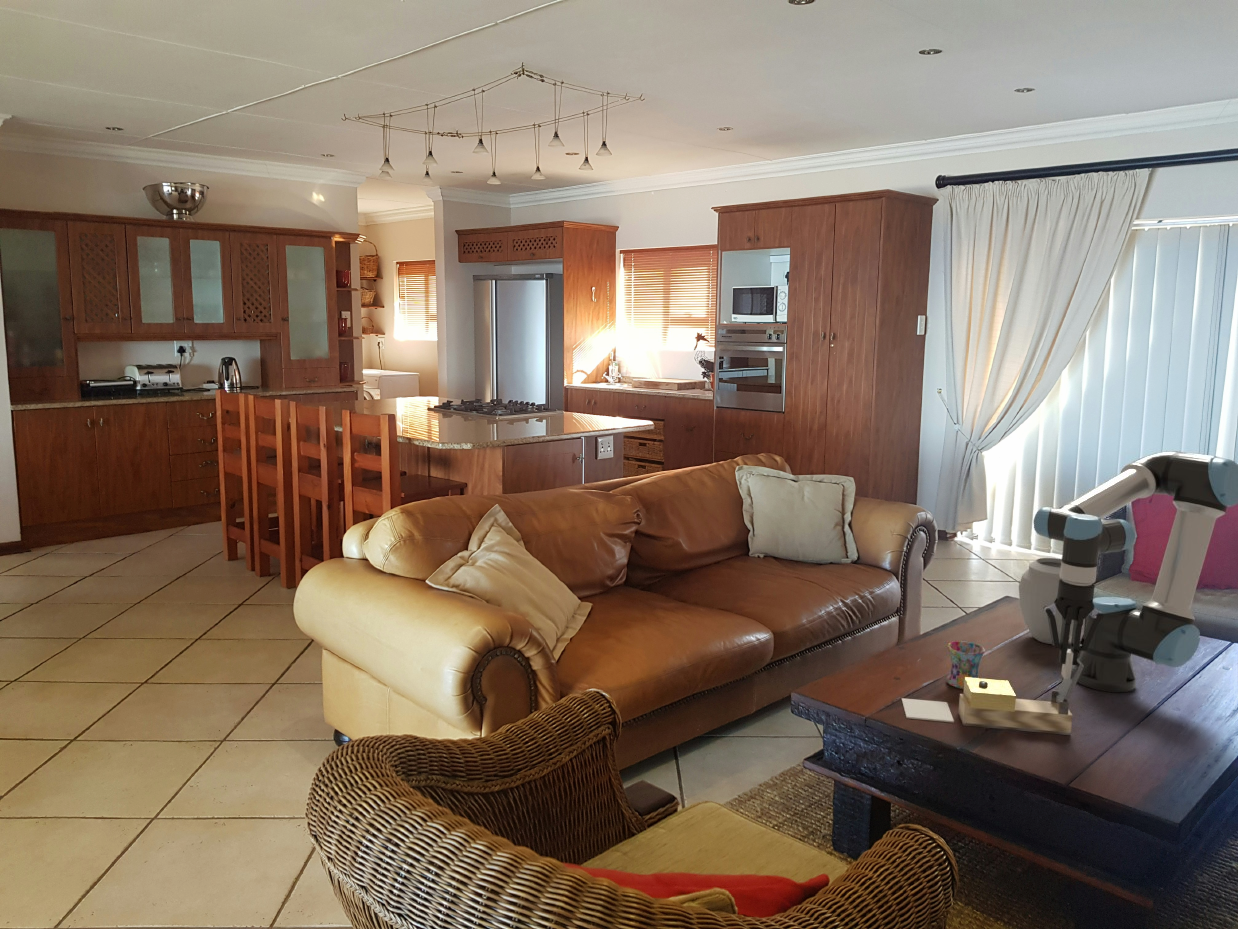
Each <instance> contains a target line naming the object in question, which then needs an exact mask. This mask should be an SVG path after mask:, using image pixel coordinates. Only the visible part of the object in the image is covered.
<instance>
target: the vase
mask: <svg viewBox="0 0 1238 929" xmlns="http://www.w3.org/2000/svg"><path fill="white" fill-rule="evenodd" d="M1061 561H1062V558H1054V557H1053V558H1052V557H1042V558H1041V557H1040V558H1038V559H1036V560H1034V561H1032V562H1030V563H1029V564H1028V569H1027V570H1025V572H1023V573H1022V574H1021V578H1020V580H1019V584H1018V596H1019V597H1018V598H1019V607H1020V610H1021V614H1022V617H1023V621H1024V623H1025V625H1026V628H1027V629H1028V631H1029V633H1030V634H1031V636H1032V637H1033V638H1034V639H1035V640H1037V641H1038V642H1041V643H1043V644H1047V645H1048V644H1049V645H1053V644H1052V641H1051V635H1050V629H1049V623H1048V617H1047V614H1046V612H1045V611H1044V609H1043V608H1044V606H1050V605H1052V604H1054V601H1055V600H1056V598H1057V594H1058V585H1059V580H1060V579H1061V578H1060V569H1061ZM1054 616H1055V619H1056V625H1057V631H1058V637H1059V642H1060V637H1061V628H1062V616H1061V614H1060V613H1059V611H1058V609H1056V614H1055V615H1054ZM1073 623H1074V621H1073V620H1072V622H1071V625H1070V634H1069V639H1070V638H1072V631H1073Z"/></svg>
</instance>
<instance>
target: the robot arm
mask: <svg viewBox="0 0 1238 929" xmlns="http://www.w3.org/2000/svg"><path fill="white" fill-rule="evenodd" d="M1153 495H1167V496H1171V497H1173V498H1172V499H1173V500H1172V504H1173V505H1174V507H1175V508H1176V513H1175V516H1174V521H1173V524H1172V526H1171V530H1170V534H1169V537H1168V542H1167V545H1166V548H1165V551H1164V556H1163V558H1162V561H1161V566H1160V569H1159V573H1158V576H1157V578H1156V579H1157V580H1156V583H1155V587H1154V590H1153V593H1152V597H1151V599H1149V600H1148V601H1146V602H1144V603H1143V604H1142V607H1141V609H1138V605H1137V602H1136V601H1135V600H1134V599H1131V598H1125V597H1118V596H1117V597H1116V596H1101V597H1098V596H1097V597H1094V595H1095V588H1096V586H1095V584H1094V583H1096V581H1097V580H1096V579H1097V570H1098V561H1099V555H1103V554H1110V553H1119V552H1122V551H1124V550H1128V549H1129V548H1131V547H1132V545H1133V544H1134V542H1135V540H1136V539H1135V538H1136V533H1135V530H1134V528H1133V526H1132V524H1130V523H1129V521H1128V520H1127V521H1126V520H1125V519H1119V518H1117V519H1116V518H1112V519H1105V518H1106V517H1109V516H1110V515H1112V514H1113V513H1115V512H1117V511H1119V510H1120V509H1122V508H1124V507H1125V506H1127V505H1128V504H1131V503H1132V502H1134V501H1135V500H1137V499H1145V498H1149V497H1150V496H1153ZM1236 505H1238V463H1237V462H1236V461H1234V460H1232V459H1230V458H1224V457H1220V456H1216V455H1207V454H1198V453H1191V452H1190V453H1189V452H1184V451H1183V452H1182V451H1176V450H1175V451H1174V450H1171V451H1168V450H1167V451H1161V452H1156V453H1153V454H1149V455H1146V456H1144V457H1141V458H1138V459H1136V460H1134V461H1132V462H1130V463H1128V464H1127V465H1125V466H1124V467H1123V468H1121V470H1120V473H1119V474H1117V475H1115V476H1113V477H1112V478H1110V479H1108V480H1106V481H1104V482H1103V483H1100V484H1099V485H1097V486H1096V487H1094V488H1092V489H1090V490H1089V491H1087V492H1085V493H1083V494H1081V495H1079V496H1078V497H1076V498H1074V499H1072V500H1071V501H1069V502H1067V503H1065V504H1063V505H1061V506H1060V507H1059V508H1058V507H1057V508H1055V507H1054V506H1053V507H1052V506H1050V507H1049V506H1045V507H1041V508H1039V509H1038V510H1037V511H1036V513H1035V515H1034V518H1033V529H1034V531H1035V533H1036V534H1037V535H1039V536H1041V537H1045V538H1047V539H1049V540H1055V541H1058V542H1062V543H1063V544H1062V552H1061V553H1062V555H1061V559H1062V561H1061V569H1060V578H1061V579H1060V580H1059V585H1058V594H1057V598H1056V600H1055V601H1054V604H1052V605H1050V606H1044V608H1043V609H1044V611H1045V612H1046V614H1047V617H1048V623H1049V629H1050V635H1051V641H1052V644H1051V645H1052V646H1053V647H1054V648H1055V649H1058V650H1059V654H1058V662H1059V663H1060V665H1062V666H1061V673H1060V675H1061V676H1062V678H1063V679H1070V678H1071V670H1072V665H1076V664H1077V658H1078V659H1079V661H1080V662H1081V663H1082V664H1083V665H1084V668H1083V670H1082V672H1081V674H1080V676H1079V678H1078V680H1077V683H1078V684H1080V685H1082V686H1085V687H1086V688H1091V689H1093V690H1098V691H1103V692H1107V693H1108V692H1109V693H1129V692H1131V691H1134V690H1135V688H1136V683H1137V680H1136V675H1135V671H1134V667H1133V662H1132V658H1131V656H1132V655H1133V656H1136V657H1138V658H1142V659H1145V660H1147V661H1151V662H1154V664H1157V665H1161V666H1166V667H1168V668H1169V667H1170V668H1179V667H1182V666H1184V665H1185V664H1187V662H1189V661H1190V660H1191V659H1192V658H1193V657H1194V656H1195V653H1196V652H1197V651H1198V648H1199V645H1200V641H1201V637H1200V636H1201V633H1200V629H1198V627H1196V625H1194V623H1195V620H1196V619H1195V617H1194V614H1192V612H1191V608H1192V603H1193V601H1194V597H1195V593H1196V589H1197V586H1198V583H1199V580H1200V575H1201V572H1202V569H1203V567H1204V566H1203V565H1204V562H1205V559H1206V556H1207V551H1208V548H1209V545H1210V542H1211V537H1212V534H1213V531H1214V527H1215V525H1216V520H1218V518H1220V517H1222V516H1224V515H1226V513H1227V512H1226V511H1227V508H1231V507H1234V506H1236ZM1056 609H1058V611H1059V613H1060V614H1061V616H1062V628H1061V637H1060V642H1059V637H1058V631H1057V625H1056V619H1055V616H1054V615H1055V614H1056ZM1072 620H1073V621H1074V623H1073V631H1072V635H1071V641H1070V638H1069V634H1070V625H1071V622H1072ZM1083 626H1084V627H1083ZM1082 627H1083V628H1082ZM1082 629H1083V634H1082ZM1069 643H1070V648H1069ZM1078 654H1079V655H1078Z"/></svg>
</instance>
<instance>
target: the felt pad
mask: <svg viewBox="0 0 1238 929" xmlns="http://www.w3.org/2000/svg"><path fill="white" fill-rule="evenodd" d="M901 701H902V702H901V703H902V706H903V710H904V714H905V717H906V719H912V720H923V721H933V722H934V721H935V722H945V723H955V720H954V718H953V715H952V713H951V709H950V707H949V704H948V701H947V702H946V701H939V700H938V701H937V700H928V699H927V700H925V699H915V698H904V697H901Z"/></svg>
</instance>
